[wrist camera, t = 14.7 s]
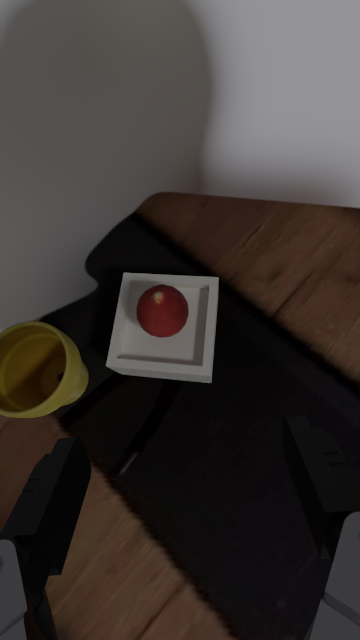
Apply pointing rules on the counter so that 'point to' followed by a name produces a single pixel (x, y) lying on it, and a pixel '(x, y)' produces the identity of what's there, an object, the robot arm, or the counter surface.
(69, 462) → the robot arm
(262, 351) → the counter surface
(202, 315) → the tray
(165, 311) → the onion
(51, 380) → the plant pot
